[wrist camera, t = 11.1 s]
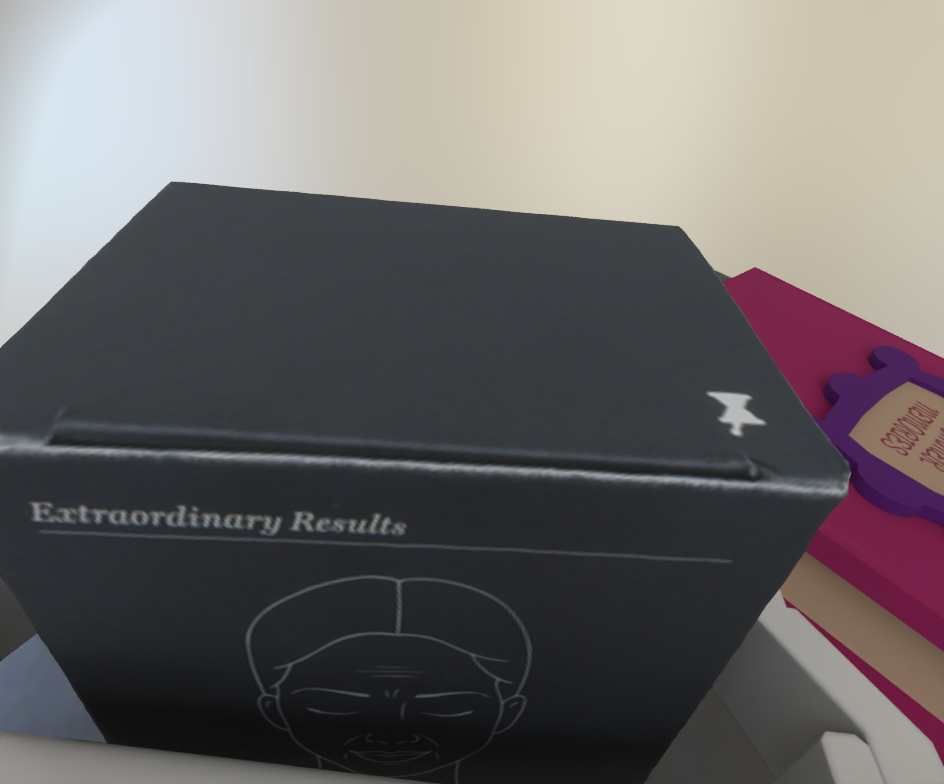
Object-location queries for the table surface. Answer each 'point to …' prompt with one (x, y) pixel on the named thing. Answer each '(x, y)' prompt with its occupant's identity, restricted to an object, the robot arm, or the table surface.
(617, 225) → the box
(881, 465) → the book
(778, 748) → the robot arm
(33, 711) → the table surface
